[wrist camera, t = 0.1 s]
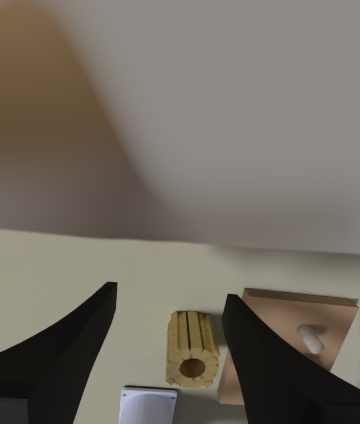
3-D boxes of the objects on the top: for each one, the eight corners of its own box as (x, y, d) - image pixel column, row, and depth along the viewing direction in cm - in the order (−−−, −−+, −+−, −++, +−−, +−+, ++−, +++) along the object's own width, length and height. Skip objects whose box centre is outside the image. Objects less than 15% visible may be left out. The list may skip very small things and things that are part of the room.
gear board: (305, 397, 29) (326, 433, 25) (217, 391, 28) (224, 428, 25) (348, 299, 25) (381, 325, 21) (244, 288, 24) (258, 313, 20)
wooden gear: (205, 346, 26) (213, 388, 21) (165, 343, 26) (163, 385, 21) (213, 313, 25) (223, 350, 20) (170, 309, 24) (169, 345, 20)
